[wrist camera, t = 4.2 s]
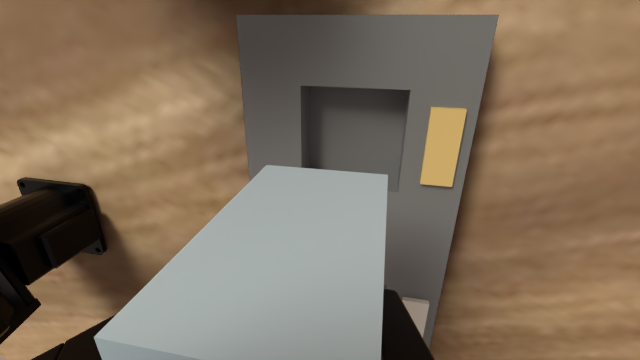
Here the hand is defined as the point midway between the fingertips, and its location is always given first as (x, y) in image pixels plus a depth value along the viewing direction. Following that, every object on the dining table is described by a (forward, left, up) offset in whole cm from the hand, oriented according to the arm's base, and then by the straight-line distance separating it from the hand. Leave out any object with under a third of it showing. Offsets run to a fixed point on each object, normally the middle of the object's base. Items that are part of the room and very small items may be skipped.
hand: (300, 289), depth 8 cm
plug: (0, 0, -3) cm, 3 cm away
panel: (0, -5, -13) cm, 14 cm away
